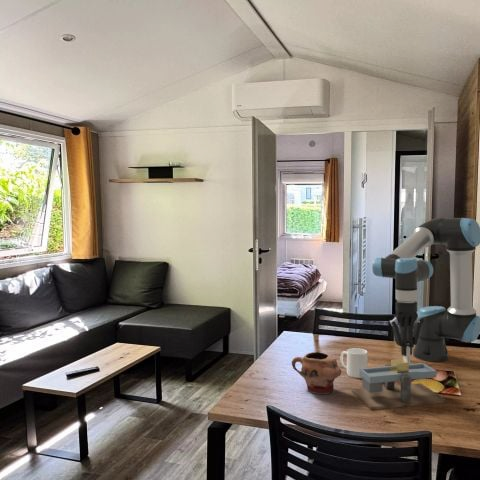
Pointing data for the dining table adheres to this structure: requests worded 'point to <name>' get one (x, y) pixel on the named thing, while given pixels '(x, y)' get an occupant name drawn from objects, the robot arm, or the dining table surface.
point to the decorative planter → (318, 371)
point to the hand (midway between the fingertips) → (406, 363)
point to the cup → (354, 361)
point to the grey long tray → (392, 375)
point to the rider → (399, 366)
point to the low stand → (398, 395)
